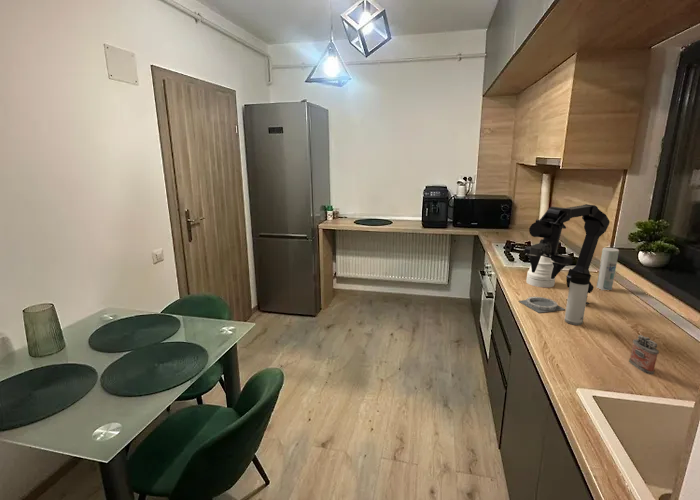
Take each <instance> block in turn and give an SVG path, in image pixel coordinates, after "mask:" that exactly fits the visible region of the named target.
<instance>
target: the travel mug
mask: <svg viewBox="0 0 700 500" xmlns="http://www.w3.org/2000/svg"><path fill="white" fill-rule="evenodd" d="M591 277H592V275H591V273H590V274H585V273H574V274H572V275H571V280H570V285H569V287H568V294H567V300H566V307H565V313H564V322H566V323H567V324H570V325H573V326H581V325H583V322H584V317H585V311H586V307H587V306H586V302H587V301H586V299H587V300H588V295H587V293H588V287H589V279H590V280H591ZM588 294H589V293H588Z"/></svg>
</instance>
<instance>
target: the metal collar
mask: <svg viewBox="0 0 700 500" xmlns="http://www.w3.org/2000/svg"><path fill="white" fill-rule="evenodd" d="M525 300H526V304H527V305H528V306H530V307H532V308H535V309H538V310H546V311H550V310H555V309H556V308H557V307H558V306H559V304H558V302H557V301H556V300H553V299H551V298H547V297H543V296H529V297H528V298H527V297H526V299H525ZM531 301H544V302H548V303H550V304H552V305H553V306H539V305H536V304H533V303H531Z"/></svg>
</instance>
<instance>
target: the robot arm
mask: <svg viewBox="0 0 700 500" xmlns="http://www.w3.org/2000/svg"><path fill="white" fill-rule="evenodd" d="M579 217H582V221H583V222H584V226H583V228H584V231H585V236H584V240H583V242H582V244H581V245H582V246H581V250H580V251H579V252H580V253H579V255H578V258H577V261H576V264H575V266H573V267H572V268H569V269H568V272H567V275H566V286H567V288H569V285H570V280H571V275H572V274H574V273H585V274H590V275H591V272H590V266H591V263H592V260H593V257H594V254H595V252H596V248H597V244H598V242H599V239H600V237H601V236H602V235H604V234H605V232H607V229H608V227H609V226H610V219H609V218H608V216H607V214H606V213H605V212H603V211H601V210H600V209H599V207H598V206H597V205H594V204H587V203H586V204H585V203H584V204H582V205H576V206H570V207H560V206H550V207H548V209H547V210H546V212H545V213H544V214H543V215H542V216H541V218H540V219H535V222H533V223H532V224H531V225H530V226H529V228H528V231H529V234H530V236H531V237H533V238H541V239H540V240H539V243H535V244H533V245H531V246H530V245H529V246H526V247H525V248H524V251H523V253H524V254H525V255H526V257H527V258H529V261H530V266H531V268H532V272H535V270H536V268H537V266H538V263H539V260H540V258H541V256H544V257H547V258H550V259H551V260H553V261H554V262H552V263H553V271H552V275H551V279H554V278H555V279H556V277H557V275H558V274H559V273H561V271H562V270H563V269H564V268H565V267H568V266H569V265H573V261H574V260H573V257H572V256H568V255H564V254H559V252H558V247H559V246H561V244H562V242H561V241H560V239H561V234H562V232H563V231H562V230H563V229H567V227H566V225H565V224H564V223H567V222H569V221H570V220H571V219H573V218H579ZM590 280H591V278H590V279H589V287H588V293H587V296H588V294H591V293H592V292H593V291H594V286H593V284H592V282H591V281H590ZM567 299H568V298H567ZM567 299H566V301H567ZM587 300H588V298H587V299H586V305H590V303H589V302H588V301H587Z"/></svg>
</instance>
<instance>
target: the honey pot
mask: <svg viewBox="0 0 700 500" xmlns="http://www.w3.org/2000/svg"><path fill="white" fill-rule="evenodd" d="M552 262H555V261H554V260H553V259H551V258H547V257H544V256H541V258H540V260H539V263H538V266H537V268H536V270H535V272H532V268H531V265H530V266H529V269H528V270H527V272H526V273H527V274H526V284H528V285H530V286H532V287H538V288H543V289H544V288H553V287H555V283H556V277H555V278H554V279H551V275H552V271H553V263H552Z"/></svg>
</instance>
